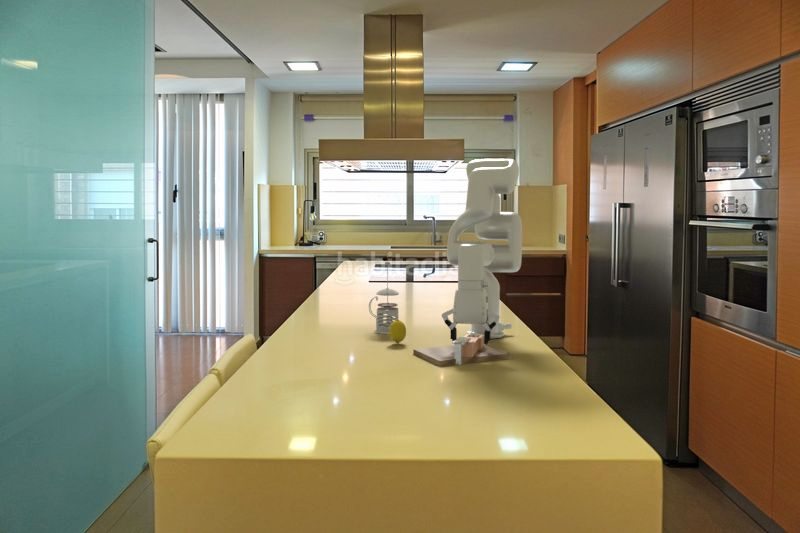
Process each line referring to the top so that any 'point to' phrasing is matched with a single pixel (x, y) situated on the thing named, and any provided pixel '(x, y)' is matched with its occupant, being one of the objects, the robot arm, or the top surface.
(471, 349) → the link
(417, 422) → the top surface
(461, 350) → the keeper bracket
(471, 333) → the cylinder
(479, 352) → the walnut plate
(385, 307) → the french press
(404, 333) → the lemon
